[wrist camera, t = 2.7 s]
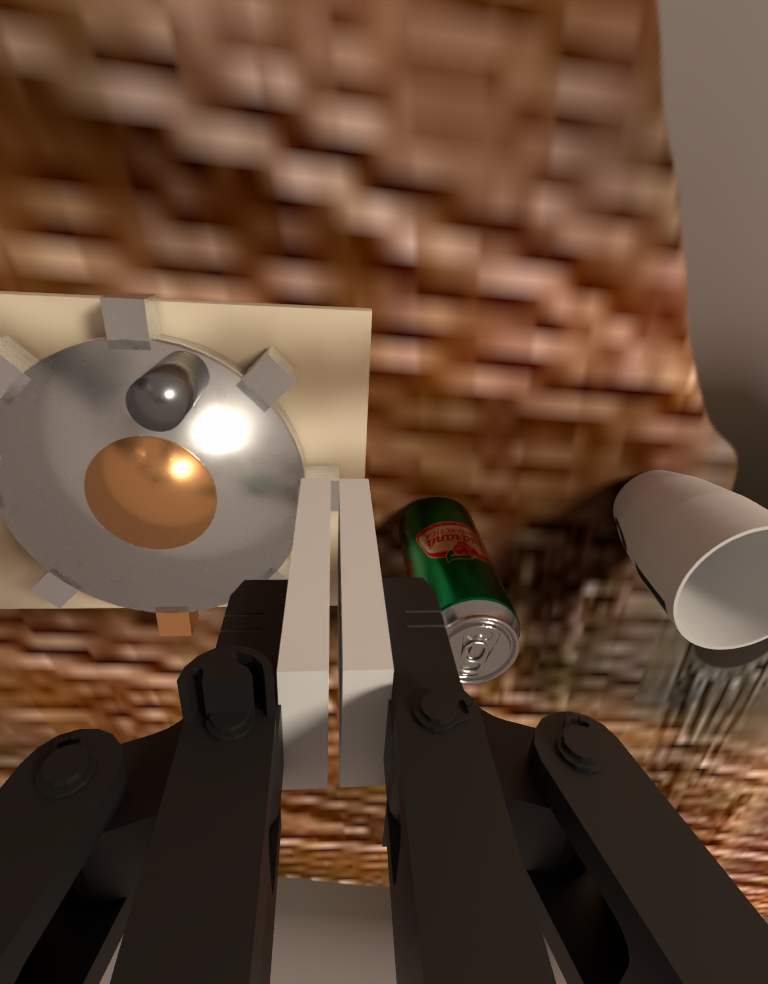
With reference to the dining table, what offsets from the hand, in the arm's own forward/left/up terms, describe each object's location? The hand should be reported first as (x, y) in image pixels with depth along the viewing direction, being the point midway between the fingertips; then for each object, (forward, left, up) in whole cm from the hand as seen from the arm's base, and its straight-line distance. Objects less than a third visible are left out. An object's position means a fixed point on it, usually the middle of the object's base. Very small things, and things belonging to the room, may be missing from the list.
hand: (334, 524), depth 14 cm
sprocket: (+7, -10, -17) cm, 21 cm away
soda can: (+11, +7, -19) cm, 23 cm away
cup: (+9, +22, -19) cm, 30 cm away
